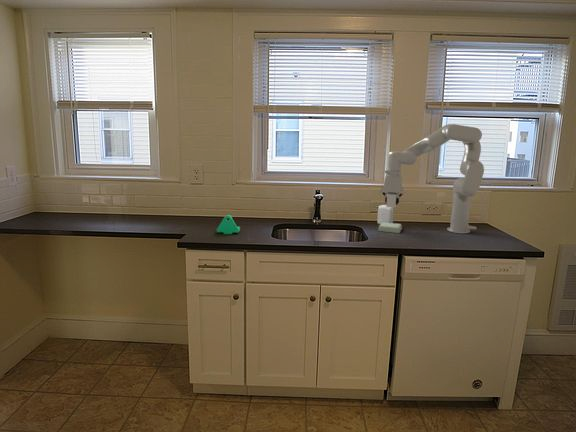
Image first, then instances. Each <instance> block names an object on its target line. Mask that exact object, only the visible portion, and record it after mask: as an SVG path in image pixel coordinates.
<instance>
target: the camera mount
mask: <svg viewBox="0 0 576 432" xmlns="http://www.w3.org/2000/svg"><path fill="white" fill-rule="evenodd" d="M228 219H229V220H228ZM240 230H241V227H240V226H237V224H236V222H235V221H234V219H233V217H232V215H230V214H226V215H225V216H224V217H223V219H222V220H221V222H220V223H219V226H218V227H217V228H216V233H223V235H233V233H239V232H240Z"/></svg>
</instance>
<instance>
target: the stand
mask: <svg viewBox="0 0 576 432" xmlns="http://www.w3.org/2000/svg"><path fill="white" fill-rule="evenodd" d="M402 229H403V225H402V223H396V222H395V223H394V222H393V223H384V222H382V223H381V224H379V225H378V232H386V233H394V234H400V233H401V231H402Z"/></svg>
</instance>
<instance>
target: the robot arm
mask: <svg viewBox="0 0 576 432" xmlns="http://www.w3.org/2000/svg"><path fill="white" fill-rule="evenodd" d="M482 137H483V133H482V130H481V129H479V128H478V127H475V126H468V125H461V124H456V123H455V124H454V123H450V124H444V125H443V126H442V127H440V128H438V129H437V130H436V131H434V132H433V133H431V134H429V135H427V136H426V137H425V138H423V139H421V140H420V141H418V142H416V143H414V144H413V145H412V144H411V146H409V147H407V148H406V149H404V150H403V151H402V152H401V151H397V150H396V151H389V153H388V158H387V159H388V160H387V170H384V173H385V174H386V175H385V176H384V183H383V186H382V187H381V188H380V190H379V192H380V193H381V194H382V195H383V196H384V198H385V199H384V202H385V205H386V204H387V194H388V193H396V194H397V198H396V205H397V206H398V204H399V202H400V198H401V197H402V196H403V195H405V194H406V193H407V192H406V190H405V189H404V187H403V176H402V175H401V174H402V165H406V166H407V165H408V166H411V165H414V164H416V163H417V160H418V157H419V156H421V155H424V154H426V153H430V152H433V151H435V150H437V149H438V148H440V147H441V146H443V145H444V144H446V143H447V142H449V141H451V140H452V141H458V142H462V144H463V146H464V151H463V156H462V160H461V164H460V166H459V171H460V173H461V175H463V176H464V177H459V178H457V179H456V180H455V181H454V183H453V185H452V208H451V216H450V225H449V227H447V229H446V230H447V231H448V232H451V233H455V234H470V233H471V230H473V231H477V226H474V225H473V226H472V225H469V220H470V208H471V197H473V196H475V195H476V194H477V193H478V192H479V190H480V186H481V183H482V180H483V177H484V174H485V173H484V172H485V167H484V163H482V162H481V161H480V158H481V153H482V146H481V145H482V144H481V142H480V141H481V140H482Z"/></svg>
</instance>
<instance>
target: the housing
mask: <svg viewBox="0 0 576 432" xmlns="http://www.w3.org/2000/svg"><path fill="white" fill-rule="evenodd" d="M396 198H397V194H396V193H388V194H387V204H386V203H385V205H386V207H392V208H393V209H394V208H396V207H397V206H398V204H397V205H396Z"/></svg>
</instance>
